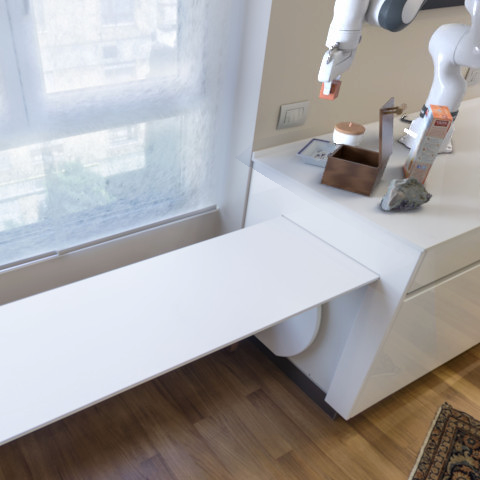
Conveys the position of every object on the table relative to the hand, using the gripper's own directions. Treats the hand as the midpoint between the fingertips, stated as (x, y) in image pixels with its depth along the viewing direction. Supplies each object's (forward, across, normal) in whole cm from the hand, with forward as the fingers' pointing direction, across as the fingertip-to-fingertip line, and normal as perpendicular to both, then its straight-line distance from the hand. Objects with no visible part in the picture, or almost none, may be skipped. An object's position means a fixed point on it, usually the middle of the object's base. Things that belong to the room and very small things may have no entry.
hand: (329, 91), depth 136 cm
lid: (+8, -2, -20) cm, 21 cm away
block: (+2, 0, 0) cm, 2 cm away
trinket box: (+25, +26, -4) cm, 36 cm away
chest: (+25, -2, -15) cm, 29 cm away
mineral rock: (+25, -11, -33) cm, 43 cm away
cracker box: (+25, +16, -31) cm, 43 cm away
